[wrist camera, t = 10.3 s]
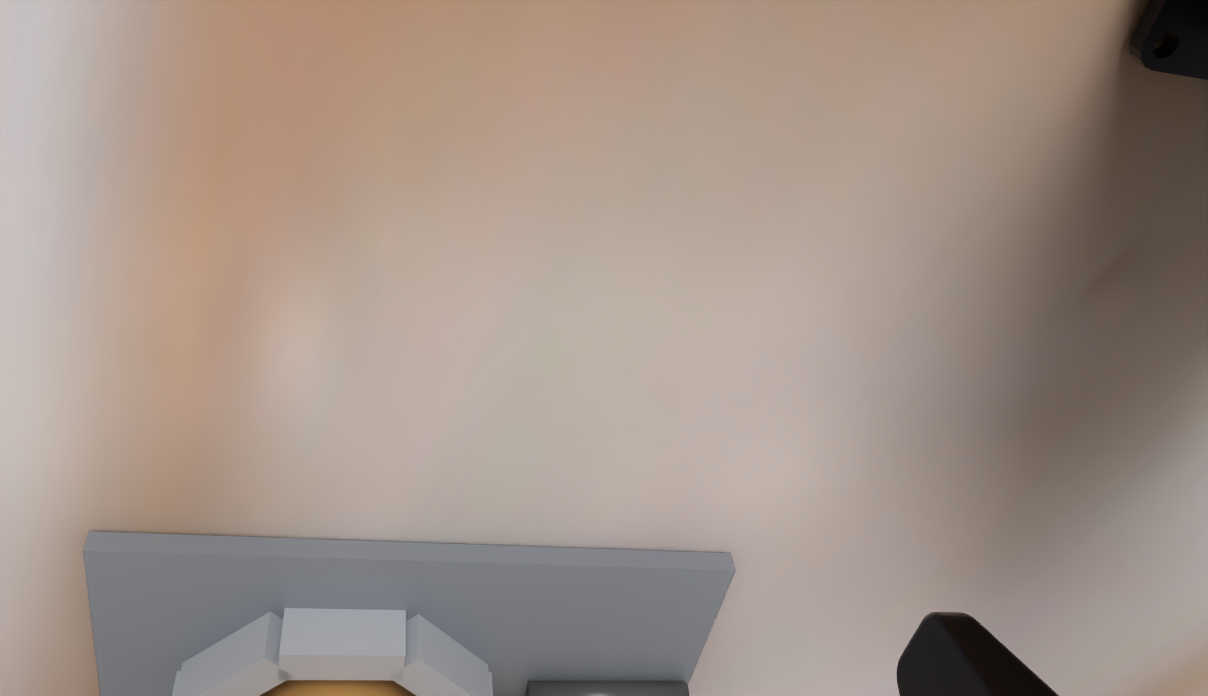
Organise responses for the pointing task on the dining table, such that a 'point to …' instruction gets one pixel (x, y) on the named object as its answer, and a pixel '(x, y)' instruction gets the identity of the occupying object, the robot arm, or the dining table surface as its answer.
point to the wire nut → (338, 688)
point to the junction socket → (396, 615)
